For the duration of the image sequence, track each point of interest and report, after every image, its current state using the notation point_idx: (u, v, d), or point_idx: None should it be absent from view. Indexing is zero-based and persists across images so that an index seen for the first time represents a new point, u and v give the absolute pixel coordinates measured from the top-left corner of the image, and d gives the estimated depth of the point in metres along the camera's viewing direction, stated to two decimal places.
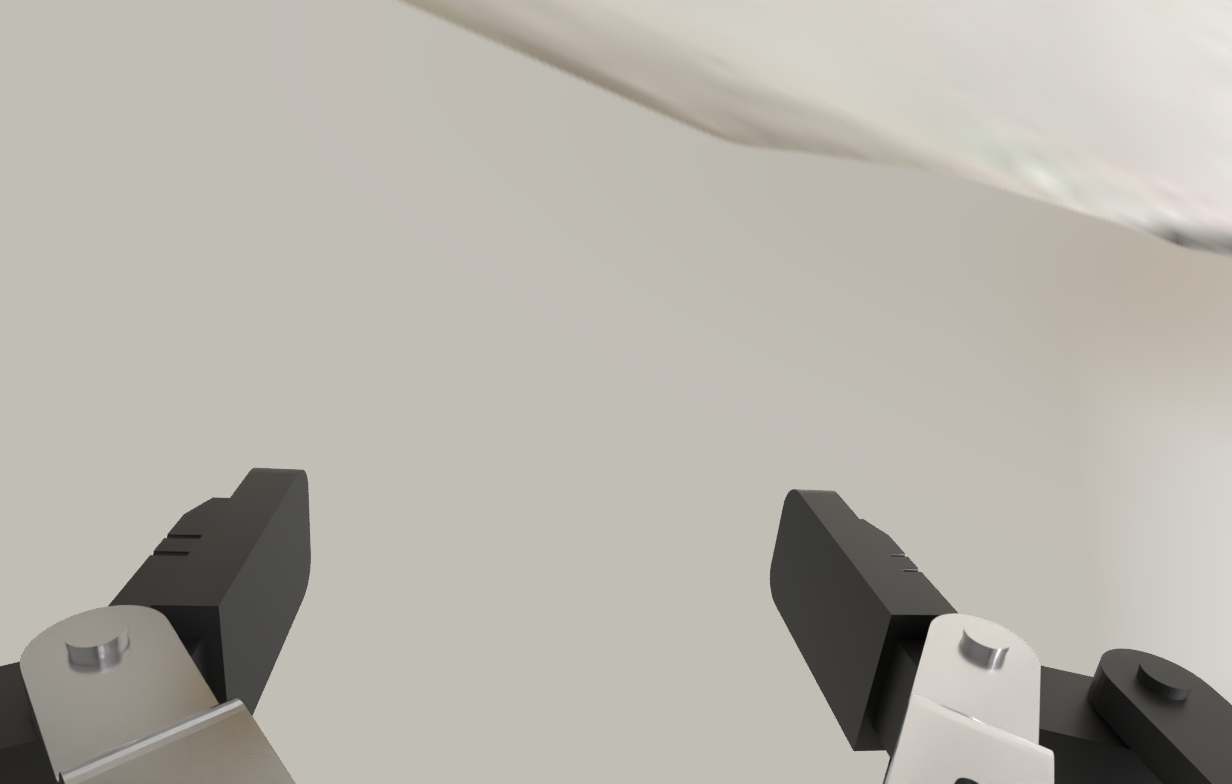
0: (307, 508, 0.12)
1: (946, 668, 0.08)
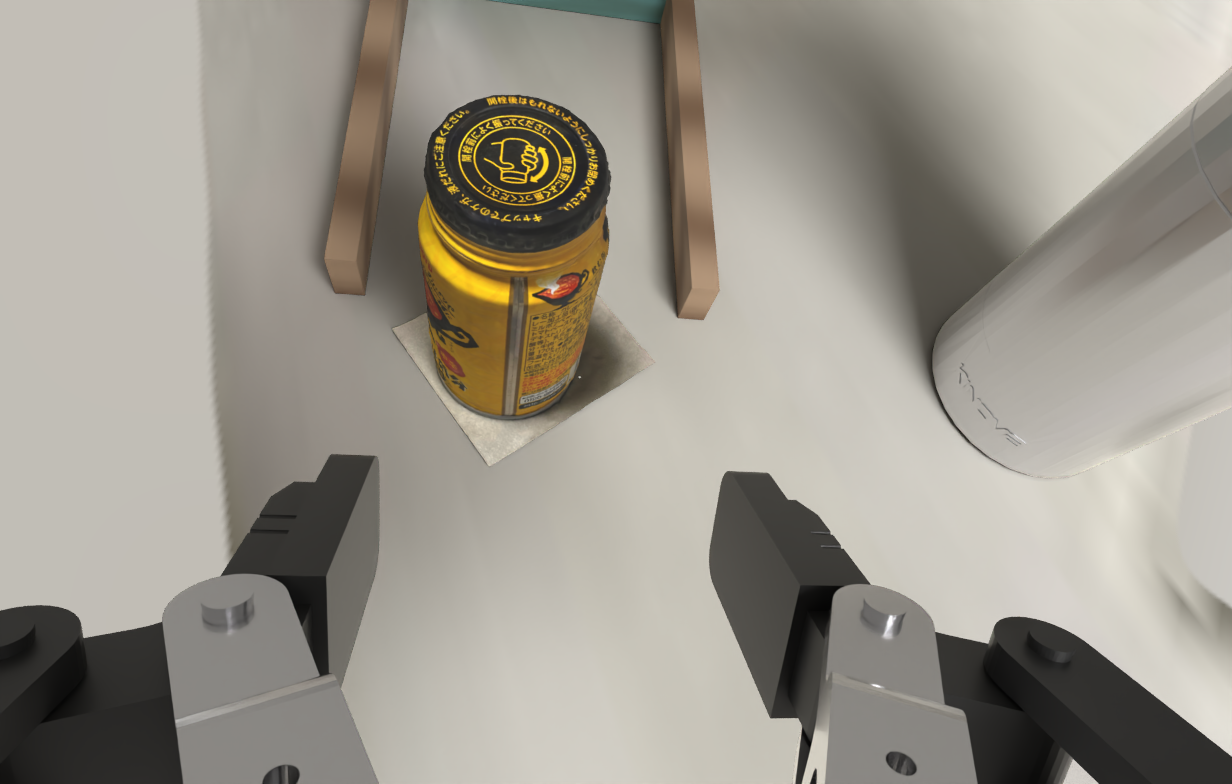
0: (378, 492, 0.12)
1: (853, 640, 0.08)
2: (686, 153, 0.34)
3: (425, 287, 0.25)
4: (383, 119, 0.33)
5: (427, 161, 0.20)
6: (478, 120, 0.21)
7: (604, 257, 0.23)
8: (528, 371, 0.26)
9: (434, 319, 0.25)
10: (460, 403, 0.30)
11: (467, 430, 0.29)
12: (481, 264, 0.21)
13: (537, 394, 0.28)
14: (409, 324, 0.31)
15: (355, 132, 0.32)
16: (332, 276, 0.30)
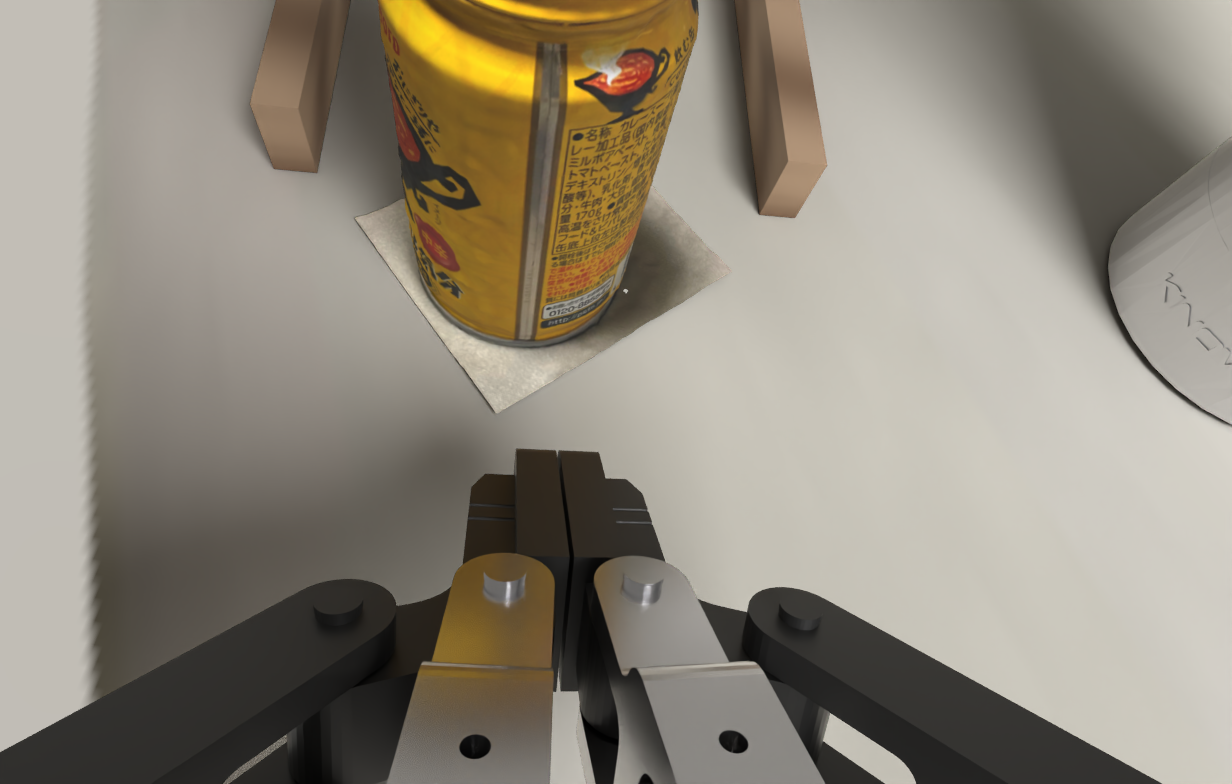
0: None
1: (629, 621, 0.08)
2: None
3: (394, 111, 0.15)
4: None
5: None
6: None
7: (692, 39, 0.14)
8: (558, 255, 0.17)
9: (409, 167, 0.16)
10: (454, 323, 0.20)
11: (463, 361, 0.20)
12: (484, 5, 0.11)
13: (568, 303, 0.19)
14: (380, 212, 0.21)
15: None
16: (266, 137, 0.20)
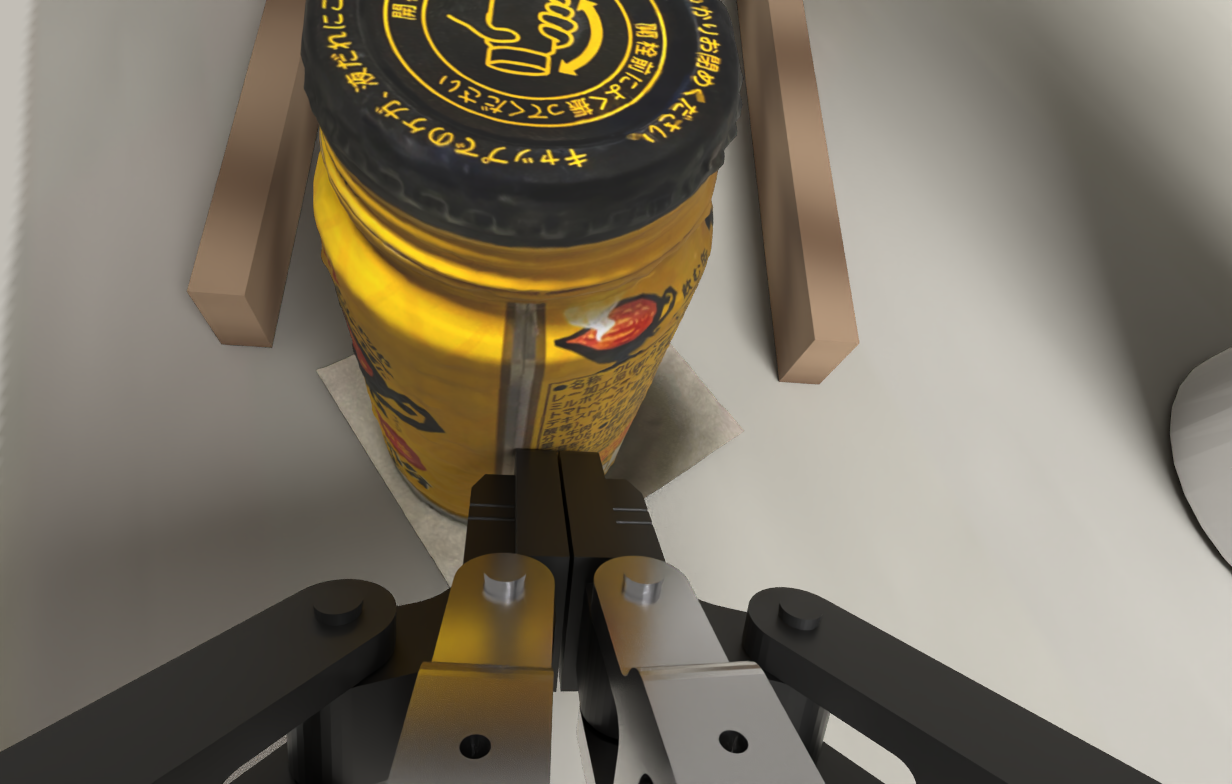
0: None
1: (629, 621, 0.08)
2: (791, 120, 0.22)
3: None
4: None
5: (305, 15, 0.08)
6: None
7: (705, 261, 0.11)
8: None
9: (363, 372, 0.13)
10: (424, 501, 0.18)
11: (433, 549, 0.17)
12: (437, 273, 0.09)
13: None
14: (346, 362, 0.19)
15: (260, 78, 0.19)
16: (209, 319, 0.18)
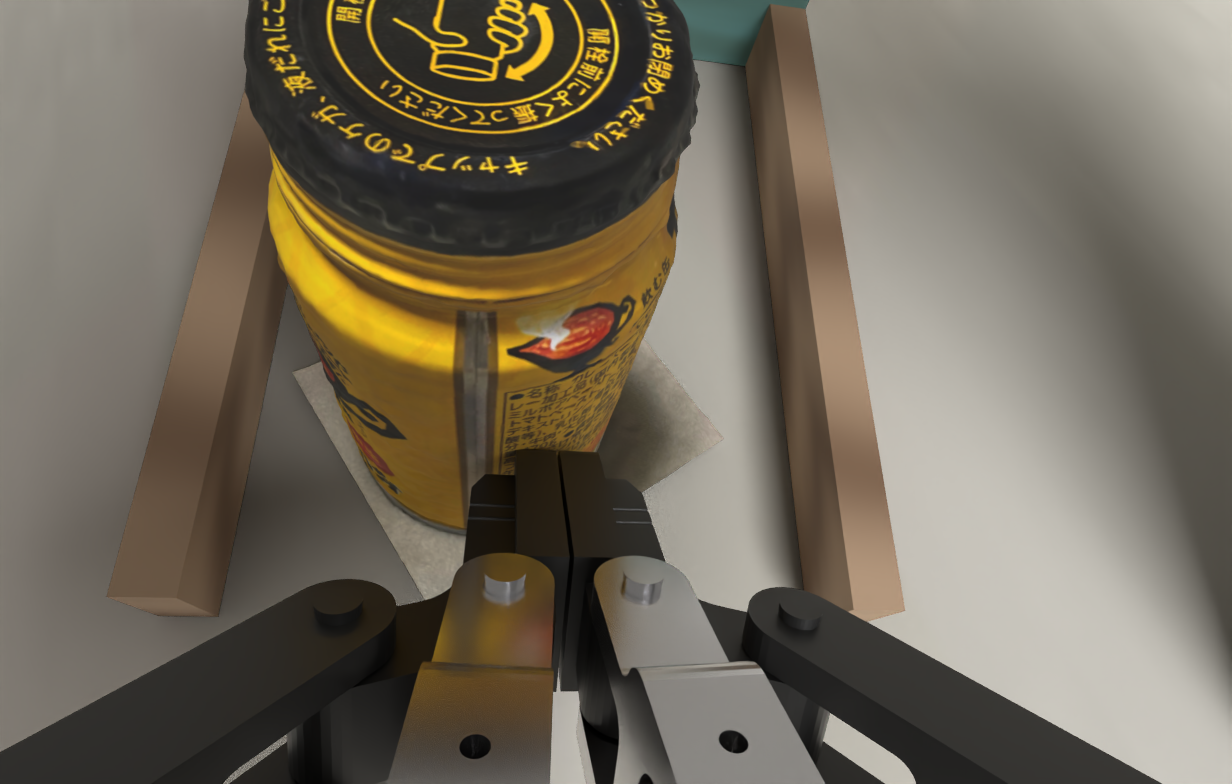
0: None
1: (629, 621, 0.08)
2: (820, 315, 0.19)
3: None
4: (271, 257, 0.18)
5: (247, 17, 0.08)
6: None
7: (667, 270, 0.11)
8: None
9: (328, 377, 0.13)
10: (398, 506, 0.18)
11: (405, 555, 0.17)
12: (382, 279, 0.09)
13: None
14: (323, 364, 0.19)
15: (205, 297, 0.17)
16: (139, 607, 0.15)
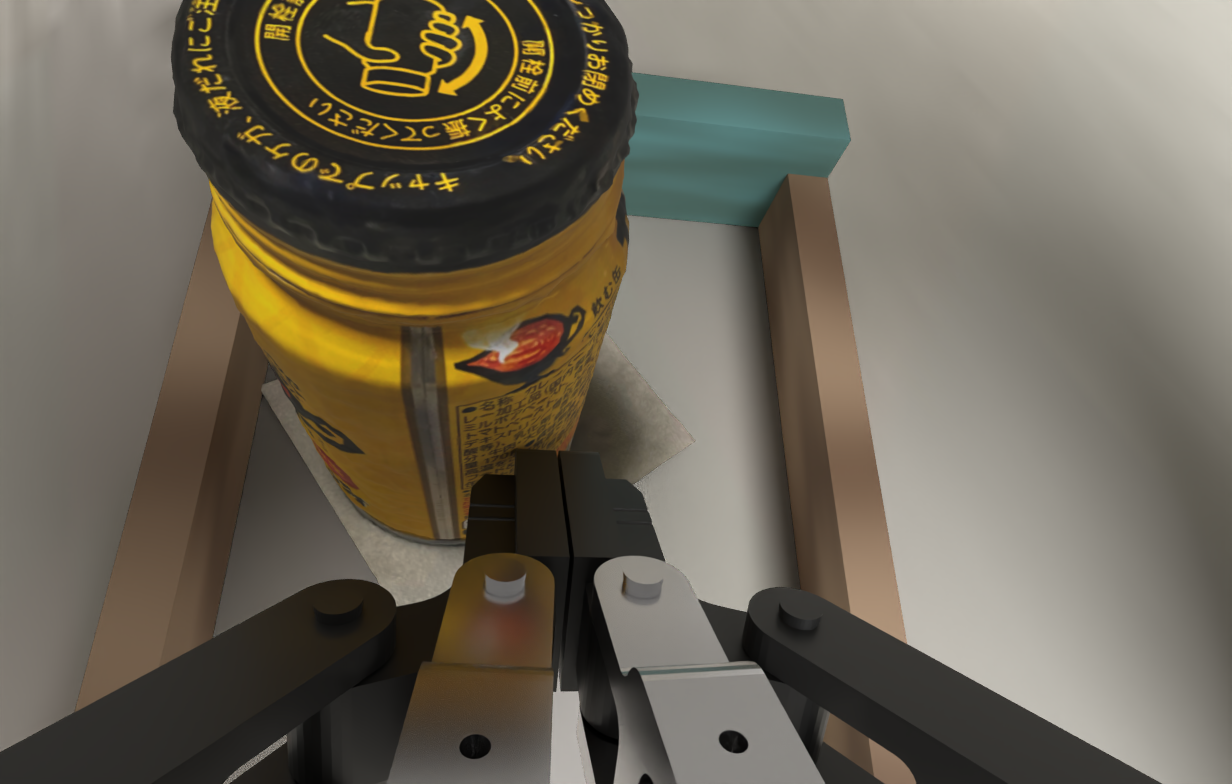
0: None
1: (629, 621, 0.08)
2: (855, 589, 0.16)
3: None
4: (207, 539, 0.15)
5: (173, 37, 0.08)
6: None
7: (618, 278, 0.11)
8: (470, 488, 0.14)
9: (285, 392, 0.13)
10: (367, 518, 0.17)
11: (375, 567, 0.17)
12: (321, 298, 0.09)
13: None
14: None
15: (119, 623, 0.14)
16: None
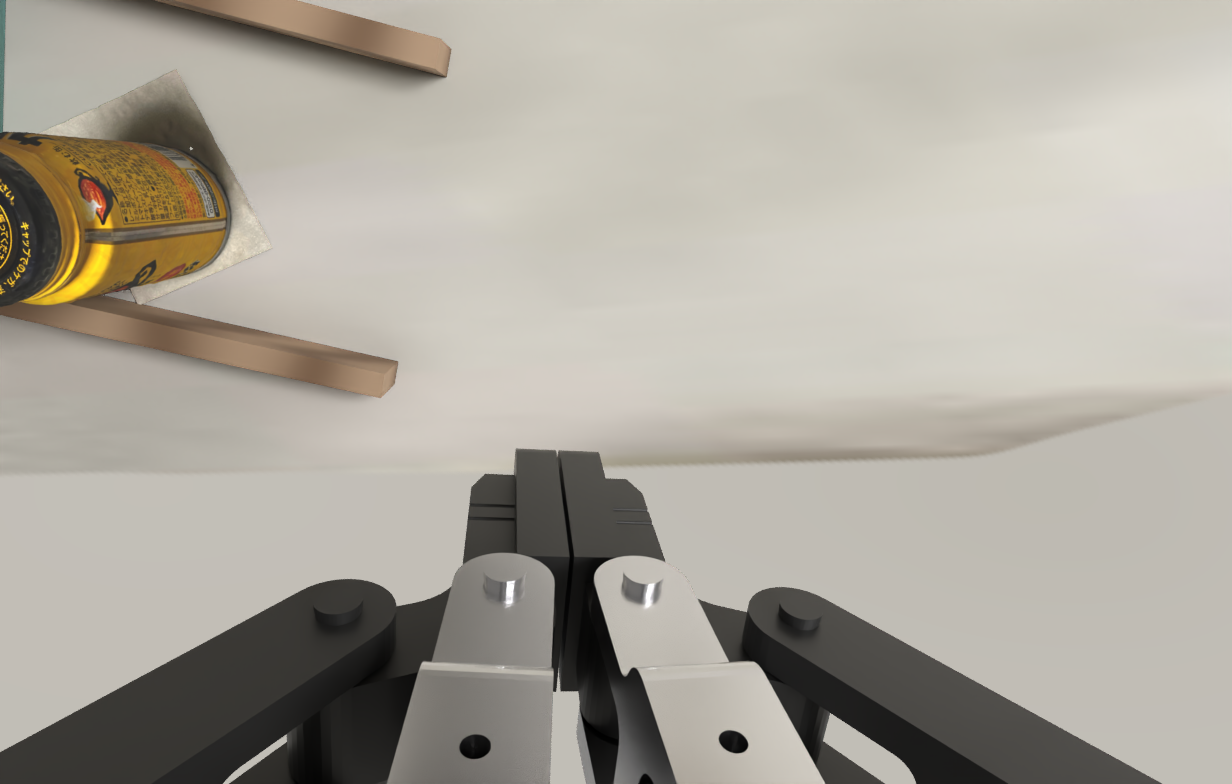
0: None
1: (629, 621, 0.08)
2: (257, 17, 0.30)
3: None
4: (212, 329, 0.35)
5: None
6: None
7: (59, 147, 0.26)
8: (180, 215, 0.31)
9: (128, 288, 0.30)
10: (213, 260, 0.35)
11: (238, 259, 0.35)
12: (73, 268, 0.25)
13: (205, 202, 0.33)
14: (133, 290, 0.36)
15: (240, 359, 0.34)
16: (388, 388, 0.36)
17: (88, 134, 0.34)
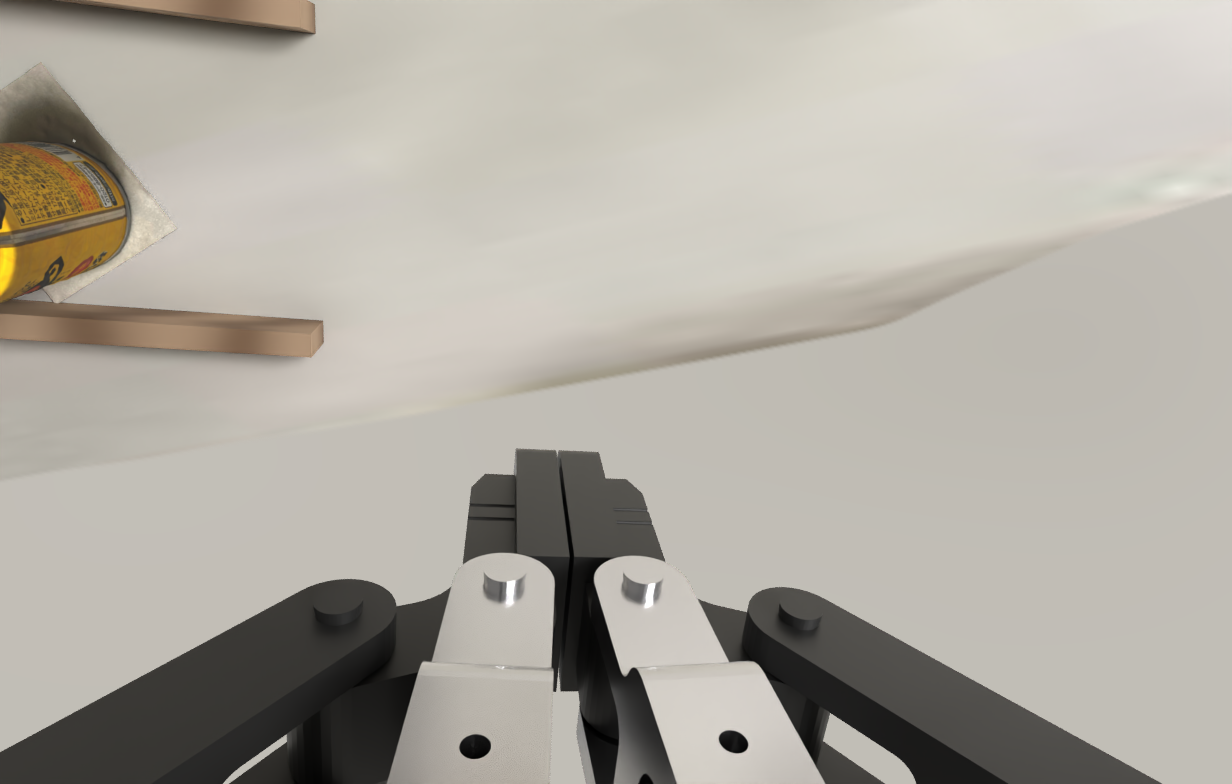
0: None
1: (629, 621, 0.08)
2: None
3: None
4: (134, 316, 0.36)
5: None
6: None
7: None
8: (76, 209, 0.31)
9: (40, 288, 0.31)
10: (120, 249, 0.36)
11: (145, 244, 0.36)
12: None
13: (99, 192, 0.33)
14: (47, 290, 0.36)
15: (168, 341, 0.35)
16: (317, 348, 0.38)
17: None
